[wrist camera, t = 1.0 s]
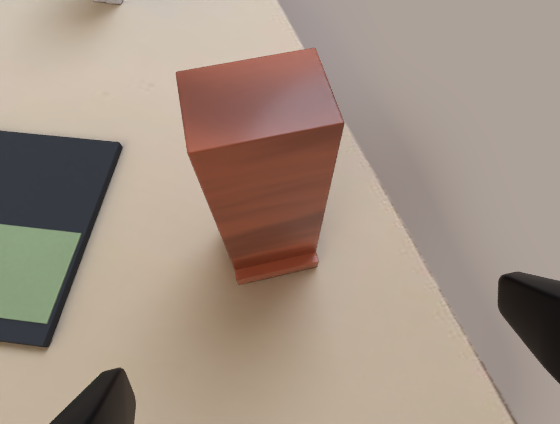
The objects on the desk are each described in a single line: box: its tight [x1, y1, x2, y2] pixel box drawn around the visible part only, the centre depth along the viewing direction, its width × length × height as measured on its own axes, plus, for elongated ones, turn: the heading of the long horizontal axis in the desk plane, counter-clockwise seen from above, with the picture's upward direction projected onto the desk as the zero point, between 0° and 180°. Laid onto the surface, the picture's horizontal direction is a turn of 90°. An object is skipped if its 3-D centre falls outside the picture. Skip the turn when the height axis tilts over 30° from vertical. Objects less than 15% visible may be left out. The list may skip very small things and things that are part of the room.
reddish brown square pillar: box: [176, 48, 344, 285], centre depth 18 cm, size 5×5×13 cm
